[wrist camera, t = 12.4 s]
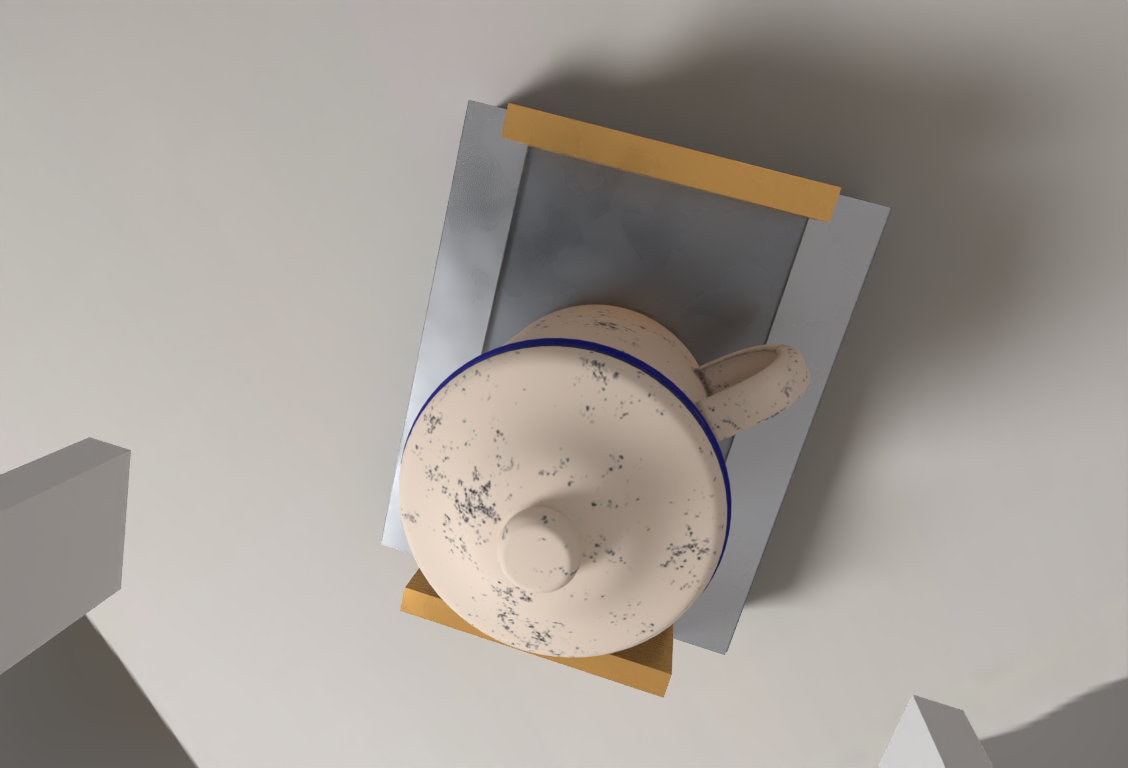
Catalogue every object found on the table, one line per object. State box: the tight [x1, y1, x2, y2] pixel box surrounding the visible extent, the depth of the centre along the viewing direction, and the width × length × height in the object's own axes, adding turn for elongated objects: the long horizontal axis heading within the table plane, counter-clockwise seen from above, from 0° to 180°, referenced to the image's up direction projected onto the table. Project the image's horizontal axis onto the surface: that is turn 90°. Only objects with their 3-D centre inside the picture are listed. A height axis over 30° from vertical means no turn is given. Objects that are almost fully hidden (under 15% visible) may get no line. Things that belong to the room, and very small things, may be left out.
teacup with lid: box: [399, 305, 810, 658], centre depth 22 cm, size 12×9×12 cm
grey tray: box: [381, 100, 892, 697], centre depth 27 cm, size 15×18×7 cm
